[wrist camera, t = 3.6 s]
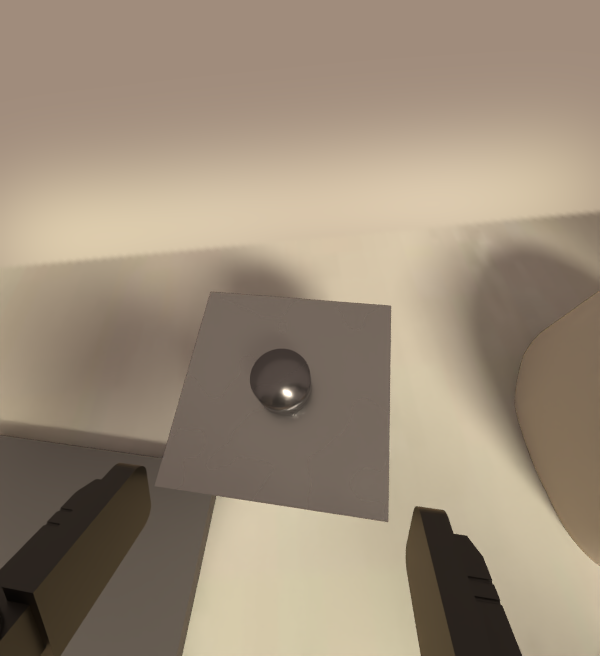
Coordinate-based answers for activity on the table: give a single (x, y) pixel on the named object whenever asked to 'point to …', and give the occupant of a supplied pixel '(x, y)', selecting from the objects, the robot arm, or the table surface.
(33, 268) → the table surface
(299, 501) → the knobbed wood block
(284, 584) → the table surface
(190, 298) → the table surface
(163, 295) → the table surface
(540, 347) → the lumpy-topped squat cylinder
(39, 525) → the mat
